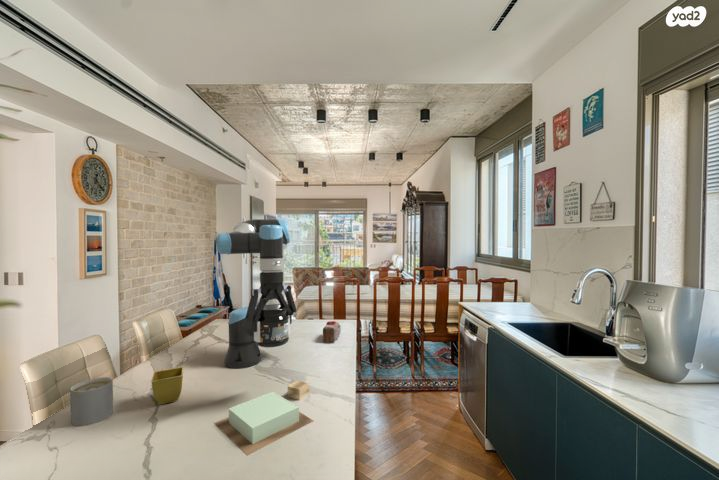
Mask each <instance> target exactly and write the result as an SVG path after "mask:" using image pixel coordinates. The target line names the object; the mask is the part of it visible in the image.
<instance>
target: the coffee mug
mask: <svg viewBox="0 0 719 480" xmlns="http://www.w3.org/2000/svg"><path fill="white" fill-rule="evenodd" d="M113 384H114V383H113V378H112V377H108V376H103V377H96V378H91V379H86V380H83V381H81V382H80V381H79V382H78V383H76V384H74V385H73V386H71V387H70V389H69V395H70V398H69V399H70V400H69V401H70V405H69V407H70V425H71V426H74V427H84V426H90V425H93V424H96V423H99V422H101V421H104V420H106V419H107V418H109V417H110V416H112V414H114V413H113V412H114V393H113V392H114V389H113V387H114V385H113Z"/></svg>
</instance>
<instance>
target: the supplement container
mask: <svg viewBox="0 0 719 480" xmlns="http://www.w3.org/2000/svg"><path fill="white" fill-rule="evenodd" d="M261 312H262V313H261V315H260V317H259V319H258V321H260V342H256V343H257V345H258V346H259V347H262V348H276V347H281V346H283V345H286V344H287V343H288V342H289V341H290V337H289V335H288V319H289V317H288V315H287V314H286V313H287V307H286V306H282V305H268V306H265V307H264V309H263V310H262V311H261Z"/></svg>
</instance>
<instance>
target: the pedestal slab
mask: <svg viewBox="0 0 719 480" xmlns="http://www.w3.org/2000/svg"><path fill="white" fill-rule="evenodd" d="M299 412H300V407H299V406H297V405H296V404H294V403H293V402H291V401H290V400H288V399H286V398H285V397H283V396H281V395H280V394H278V393H276V392H275V391H271V392H268V393H265V394H263V395H260V396H257V397H255V398H252V399H250V400H247V401H245V402H242V403H239V404H237V405H235V406H232V407H230V408H228V417H229V423H230V424H231V425H232V426H233V427H234V428H235V429H236V430H238V431H239V432H240V433H241V434H242V435H243V436H244V437H245V438H247V439H248V440H249V441H250V442H251V443H252V444H254V443H256V442H258V441H260V440H262V439H264V438H266V437H268V436H270V435H272V434H274V433H276V432H278V431H280V430H282V429H284V428H286V427H288V426H290V425H292V424H294V423H296V422H298V421H299Z"/></svg>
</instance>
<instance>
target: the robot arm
mask: <svg viewBox="0 0 719 480" xmlns="http://www.w3.org/2000/svg"><path fill="white" fill-rule="evenodd" d="M290 238H291V237H290V229H289V226H288V222H287V221H286V220H285V219H280V218H279V219H278V218H276V219H275V218H274V219H271V218H270V219H269V218H268V219H266V218H265V219H258V218H257V219H254V218H253V219H248V220H244V221H242V222H239V223H238V224H236V225H235V227H234V228H233V230H232V231H231V232H220V233H218V234H217V237H216V251H217V252H218V254H221V255H236V254H237V255H240V254H241V255H242V254H244V255H246V254H259V271H261V272H260V273H259V283H260V287H259V288H256V289H255V288H252V289H251V290H250V300H249V303H248V306H245V307H239V308H237V309H234V310H232V311H231V312H230V313H229V315H228V321H227V325H228V348H227V350H226V351H227V352H226V354H225V358H224V365H225V367H227V368H230V369H243V368H249V367H252V366H255V365H257V364H259V363H260V362H262V352H261V350H260V346H259V345H257V343H256V342H260V321H258V319H259V317H260V315H261V313H262V312H261V311H262V310H263V309H264V307H265V306H268V305H282V306H286V307H287V313H286V314H287V315H288V317H289V319H288V336H290V335H291V324H292V319H293V318H292V316H293V315H294V314H295V313H296V312H297V306H296V303H295V300H294V297H293V294H292V285H289V284H288V285H287V284H285V252H284V251H285V250H286V248H287V247H288V244H290V243H291V239H290ZM260 294H261V296H260ZM259 296H260V297H259ZM285 298H286V300H285ZM258 301H259V302H258Z"/></svg>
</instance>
